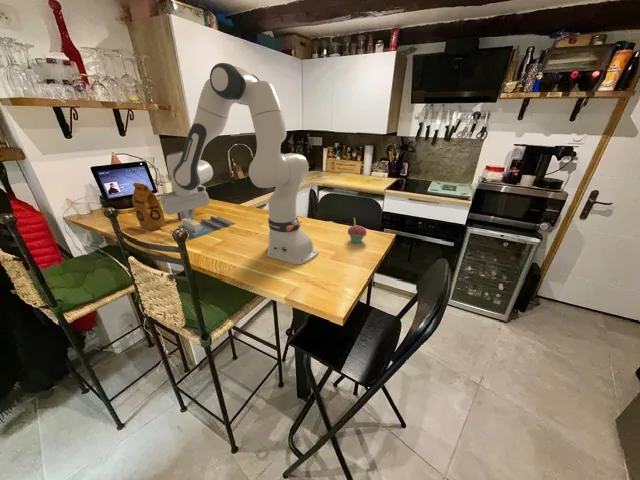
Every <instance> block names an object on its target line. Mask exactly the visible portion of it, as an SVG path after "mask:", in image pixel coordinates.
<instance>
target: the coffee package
mask: <svg viewBox="0 0 640 480" xmlns="http://www.w3.org/2000/svg"><path fill="white" fill-rule="evenodd" d="M132 186H133V187H134V190H133V193H132V197H131V201H132V205H133V208H134V211H135V215H136V216H135V217H136V218H137V221H138V223H139V226H140V227H142V228H145V229H146V230H149V231H153V232H154V231H158V230H161V229H162V228H163V227H165V226H167V224H166V219H165V215H164V214H165V213H164V211H163V208H162V207H161V204H160V201H159V200H158V198H157V196H156V195H155V194H154V193H153V191H152V190H151V189H150V188H149V186H148V185H147V184H144V183H139V182H133V184H132Z"/></svg>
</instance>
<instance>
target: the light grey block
mask: <svg viewBox="0 0 640 480" xmlns="http://www.w3.org/2000/svg"><path fill="white" fill-rule="evenodd" d="M181 222H182V225H183V226H185V228H186V229H188V230H193V233H195V234H196V233H199V232H202V228H201V224H200V223H199V221H196V220H194V219H187V218H185V219H182V220H181Z"/></svg>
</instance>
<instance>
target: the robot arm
mask: <svg viewBox="0 0 640 480" xmlns="http://www.w3.org/2000/svg"><path fill="white" fill-rule="evenodd" d="M277 95H278V94H277V93H276V90H275V89H274V86H273V85H272V83H270V82H268V81H266V80H261V79H259V78H258V77H257V76H256V75H255V74H252V73H250V72H248V70H247V71H246V70H245V69H244V68H242V67H239V66H236V65H233V64H230V63H226V62H219V63H216V64H215V65H214V66H212V68H211V70H210V74H209V78H208V79H207V80H206V81H205V83H204V85H203V87H202V90H201V92H200V95H199V99H198V104H197V108H196V112H195V116H194V119H193V123H191V127H190V129H189V131H188V135H187V137H186V140H185V143H184V148H183V150H181V151H176V152H172V153H169V154H167V156H166V165H167V171H168V174H169V177H170V180H171V181H170V183H171V189H172V188H173V192H172V191H170V192H165V193H163V194H162V195H160V201H161V204H162V211H163V214H165V215H169V216H170V215H174V214H178V213H179V212H183V213H184V214H185V215H186V218H187V219H191V218H193V219H195V216H194V214H195V212H196V209H198V208H201V207H205V206H208V205H209V204H210V198H209V194H208V192H207V191H206V190H207V189H206V186H204V185H203V184H205V183H207V182H209V181H210V180H212V179H213V176H214V170H213V167H212V165H211V164H210V163H209V162H208V161H206V160H204V159H201V158H202V154H203V152H204V150H205V147H206V146H207V144H208V143H210V142H211V141H212V140H213V139H215V138H217V137H218V136H220V135H221V134H222V133H223V131H224V129H225V127H226V125H227V122H228V119H229V118H228V117H229V115H230V114H229V113H230V110H231V107H232V105H234V104H235V103H236V104H239V105H245V106H248V109H249V112H250V117H251V121H252V125H253V128H254V129H253V130H254V134H255V137H256V150H255V151H256V152H255V155H254V158H253V160H252V161H251V162H250V164H249V167H248V176H249V178H250V181H251V183H252V184H253V185H254V186H255V187H257V188H260V189H261V188H262V189H265V188H266V189H270V188H274V187H275V190H274V191H273V193H272V194H271V195H270V196H269V198H268V201H267V205H268V206H267V207H268V216H269V217H268V221H267V222H268V228H269V234H268V246H267V252H266V256H267V257H269V258H272V259H276V260H279V261H282V262H285V263H290V264H293V265H296V266H297V265H303V264H306V263H308V262H309V261H311V260H314V258H316V257H317V256H318V255H319V250H318V249H317V248H315V247H313V245H314V244H313V240H312V238H311V237H310V235H309V234H308V233H306V232H305V231H304V230H303V229H302V228H301V225H302V221H299V219H298V216H297V198H298V194H299V191H300V188H301V185H302V183H303V181H304V179H305V178H306V176H307V175H308V174H309V170H310V169H309V168H310V166H309V162H308V159H307V158H306V157H305V156H304V155H303V154H298V153H292V152H291V153H283V154H282V153H281V147H282V146H281V145H282V143H283V142H284V141H285V140H286V138H287V135H288V134H287V133H288V132H287V128H286V124H285V121H284V120H285V119H284V115H283V112H282V109H281V108H282V107H281V105H280V100H279V98H278V96H277ZM187 210H191V213H190V214H187Z"/></svg>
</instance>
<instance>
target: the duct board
mask: <svg viewBox="0 0 640 480" xmlns="http://www.w3.org/2000/svg"><path fill="white" fill-rule="evenodd" d="M198 223H200V224H201V228H202V232H199V233H196V234H195V233H193V230H188V229H186V228H185V226H183V224H180V225H177V229H178V228H183V229H185V230H187V232H188V234H189V237H188V240H186V242H188V241H191V240H193V239H197V238H199V237H202V236H205V235H208V234H211V233H215V232H218V231H219V230H223V229H226V228H228V227H232V226H234V225H237V223H235V222H233V221H231V220H229V219H225V218H224V217H221V216H214V215H210V218H209V219H204V218H200V222H199V221H198ZM170 232H171V233H172V232H173V230H170Z"/></svg>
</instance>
